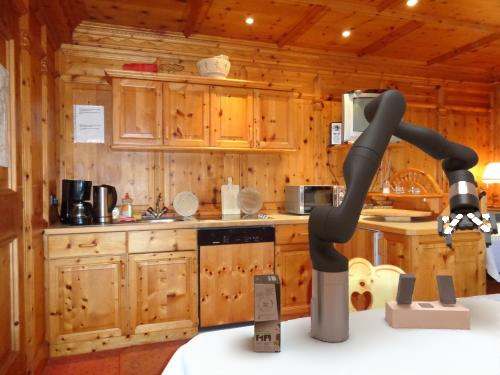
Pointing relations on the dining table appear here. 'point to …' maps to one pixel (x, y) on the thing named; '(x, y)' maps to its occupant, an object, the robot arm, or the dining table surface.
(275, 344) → the coffee box
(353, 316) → the dining table surface
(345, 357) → the dining table surface
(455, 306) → the beige lever base
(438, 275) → the lever right
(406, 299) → the lever left
